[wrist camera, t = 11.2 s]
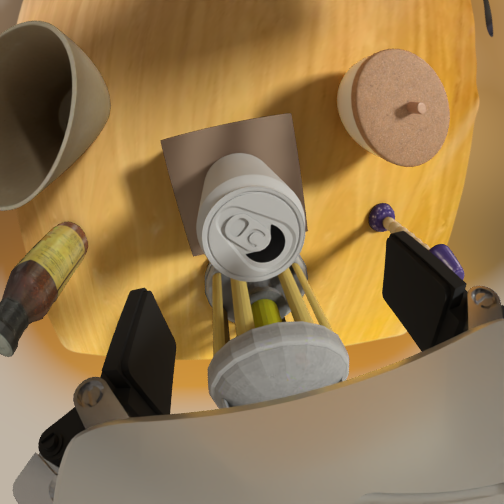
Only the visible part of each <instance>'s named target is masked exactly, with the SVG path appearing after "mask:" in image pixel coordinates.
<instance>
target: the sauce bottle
mask: <svg viewBox="0 0 504 504" xmlns="http://www.w3.org/2000/svg"><path fill="white" fill-rule="evenodd" d="M87 249H88V241H87V238H86V236H85V233H84V232H83V230H82V229H81V228H80V227H79V226H78V225H76V224H75V223H72V222H63V223H61V224H58V225H57V226H56V227H54V228H52V229H51V230H50V231H49V232H48V233H47V234H46V235H45V236H44V237H43V238H42V239H41V240H40V241H39V242H38V243H37V244H36V245H35V246H34V247H33V248H32V249H31V250H30V251H29V252H28V253H27V254H26V255H25V257H24V258H23V259H22V260H21V261H20V262H19V263H18V264H17V265H16V266H15V268H14V269H13V270H12V271H11V274H10V276H9V279H8V282H7V285H6V288H5V291H4V295H3V298H2V301H1V302H0V354H1V355H3V356H7V357H10V356H12V355H13V354H14V352H15V350H16V349H17V347H18V341H19V339H20V337H21V335H22V334H23V332H24V330H25V329H26V328H27V327H28V325H29V324H30V323H32V322H34V321H38V320H40V319H43V317H44V316H45V315H46V314H47V312H48V311H49V309H50V307H51V306H52V304H53V303H54V302H55V301H56V299H57V298H58V296H59V295H60V293H61V292H62V290H63V288H64V287H65V285H66V284H67V282H68V281H69V279H70V278H71V276H72V275H73V273H74V272H75V270H76V269H77V268H78V266H79V265H80V263H81V262H82V260H83V259H84V256H85V254H86V252H87Z"/></svg>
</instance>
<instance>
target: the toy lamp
mask: <svg viewBox="0 0 504 504" xmlns="http://www.w3.org/2000/svg"><path fill="white" fill-rule="evenodd" d="M369 224H370V226H371V228H372V229H373V230H375V231H379V232H384V231H387V230H388V231H390V233H395V232H399V231H405V232H406V233H408V234H409V235H410V236H412V237H413V238H414V239H415V240H417V241H418V242H419V243H420V244H421V245H423V246H424V247H425V248H426V249H428V250H429V251H430V252H431V253H432V254H434V255H435V256H436V257H437V258H438V259H439V260H441V261H442V262H443V263H444V264H445V265H446V266H448V267H449V268H450V269H451V270H452V271H453V272H454V273H455V274H456V275H458V276H459V277H460V278H461V279H462V280H463V278H464V271H463V269H462V267H461V265H460V263H459V262H458V260H457V259H456V257H455V256H454V254H453V253H452V251H451V250H450V249H449V247H448V246H446V245H444V244H438V245H435V246H434V247H432V248H431V249H430V248H429V246H428V245H427V244H424V243H423V242H422V241H421V240H420V239H419V238H417V237H416V236H415V235H414V234H413V233H411V232H409V231H408V230H407V229H406V228H405V227H402V225H401V224H400V223H398V222H396V221H395V214H394V211H393V209H392V208H391V206H390V205H388V204H386V203H380V204H378V205H376V206H375V207H374V208H373V209H372V211H371V213H370V215H369Z"/></svg>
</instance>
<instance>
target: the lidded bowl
mask: <svg viewBox="0 0 504 504" xmlns="http://www.w3.org/2000/svg"><path fill="white" fill-rule="evenodd" d="M337 107H338V112H339V116H340V119H341V121H342V123H343V125H344V127H345V129H346V131H347V132H348V133H349V135H350V136H351V137H352V138H353V139H354V140H355V141H356V142H357V143H358V144H359V145H360V146H362V147H363V148H364V149H366V150H367V151H369V152H371V153H372V154H374V155H376V156H378V157H381V158H383V159H384V160H386V161H388V162H391V163H393V164H396V165H399V166H404V167H413V166H418V165H421V164H423V163H425V162H427V161H429V160H430V159H431V158H432V157H434V156H435V155H436V154H437V152H438V151H439V150H440V148H441V147H442V145H443V143H444V141H445V138H446V136H447V132H448V127H449V119H450V117H449V104H448V99H447V95H446V92H445V90H444V87H443V85H442V83H441V81H440V79H439V77H438V76H437V74H436V73H435V71H434V70H433V69H432V68H431V67H430V66H429V65H428V64H427V63H426V62H425V61H424V60H423V59H421V58H420V57H418V56H417V55H415V54H413V53H411V52H409V51H405V50H401V49H387V50H383V51H380V52H377V53H374V54H373V55H371V56H368V57H366V58H363V59H362V60H360V61H359V62H357V63H356V64H354V65H353V66H352V67H351V68H350V69H349V70H348V71H347V72H346V73H345V75H344V76H343V78H342V80H341V83H340V85H339V89H338V94H337Z"/></svg>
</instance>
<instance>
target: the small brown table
mask: <svg viewBox="0 0 504 504" xmlns="http://www.w3.org/2000/svg"><path fill="white" fill-rule="evenodd" d="M161 145H162V149H163V153H164V157H165V161H166V165H167V169H168V172H169V176H170V180H171V183H172V187H173V191H174V194H175V198H176V201H177V205H178V208H179V212H180V215H181V218H182V222H183V225H184V228H185V232H186V235H187V238H188V241H189V245H190V248H191V251H192V254H193V256H197V255H202V254H204V252H203V251H202V249H201V247H200V244H199V242H198V238H197V230H196V224H197V217H198V211H199V206H200V201H201V196H202V191H203V186H204V181H205V177H206V175H207V172H208V171H209V169H210V168H211V166H212V165H213V164H214V163H215V162H216V161H218V160H219V159H221V158H222V157H224V156H227V155H230V154H235V153H245V154H250V155H253V156H255V157H257V158H259V159H260V160H262V161H263V162H264V163H265V164H266V165H267V166H268V167H269V168H270V169H271V170H272V171H273V172H274V173H275V174H276V175H277V176H278V177H279V178H280V179H281V180H282V181H283V182H284V183H285V184H286V185H287V186H288V187H289V188H290V189H291V190H292V191H293V192H294V193H295V194H296V196H297V197H298V199H299V200H300V202H301V205H302V207H303V210H304V215H305V232H306V231H308V229H307V220H306V212H305V203H304V195H303V187H302V180H301V173H300V166H299V159H298V152H297V145H296V139H295V133H294V127H293V121H292V115H291V113H287V114H279V115H273V116H266V117H260V118H254V119H249V120H243V121H238V122H233V123H228V124H223V125H219V126H214V127H210V128H206V129H201V130H197V131H193V132H189V133H185V134H182V135H178V136H174V137H171V138H167V139H164V140H161Z"/></svg>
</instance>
